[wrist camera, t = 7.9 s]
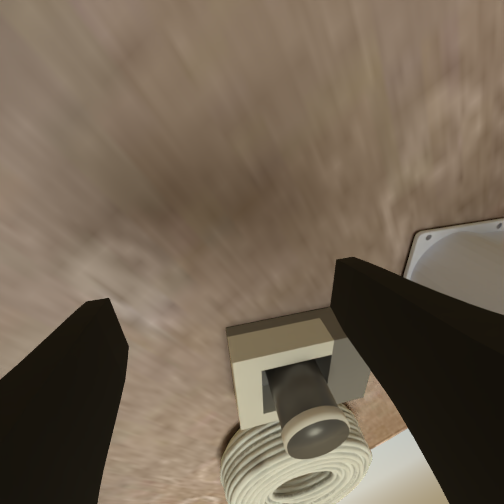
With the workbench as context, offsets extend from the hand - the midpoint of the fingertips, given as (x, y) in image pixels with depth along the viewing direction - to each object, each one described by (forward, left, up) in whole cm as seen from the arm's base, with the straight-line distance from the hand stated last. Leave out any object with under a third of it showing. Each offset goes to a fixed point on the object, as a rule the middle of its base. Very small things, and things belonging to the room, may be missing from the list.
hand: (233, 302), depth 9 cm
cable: (-6, +31, -10) cm, 33 cm away
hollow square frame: (-6, +15, -9) cm, 19 cm away
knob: (-5, +14, -8) cm, 17 cm away
